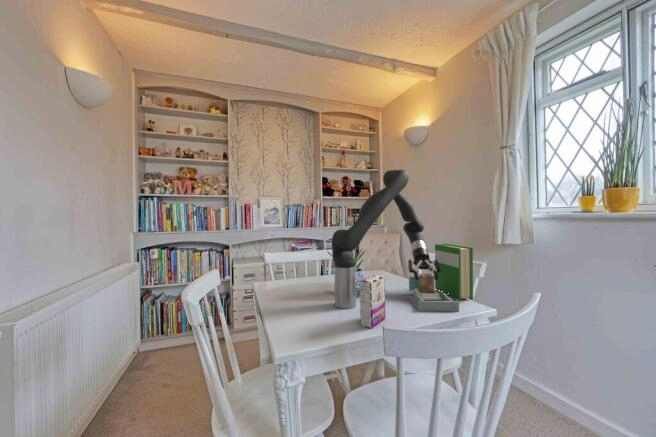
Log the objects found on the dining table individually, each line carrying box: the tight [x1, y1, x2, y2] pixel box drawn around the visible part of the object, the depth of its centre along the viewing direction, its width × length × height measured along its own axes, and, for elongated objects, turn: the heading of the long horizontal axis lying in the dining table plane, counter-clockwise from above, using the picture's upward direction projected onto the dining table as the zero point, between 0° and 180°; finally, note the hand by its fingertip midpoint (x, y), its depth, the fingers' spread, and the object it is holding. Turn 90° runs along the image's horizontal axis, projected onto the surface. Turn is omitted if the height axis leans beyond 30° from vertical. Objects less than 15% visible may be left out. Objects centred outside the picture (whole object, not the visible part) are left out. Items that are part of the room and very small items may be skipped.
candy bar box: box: [359, 274, 386, 329], centre depth 97 cm, size 11×5×16 cm, turn 143°
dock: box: [408, 291, 460, 312], centre depth 115 cm, size 16×17×4 cm
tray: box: [408, 276, 442, 300], centre depth 124 cm, size 12×15×7 cm
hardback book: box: [434, 243, 474, 301], centre depth 129 cm, size 18×7×24 cm, turn 12°
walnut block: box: [418, 273, 435, 293], centre depth 122 cm, size 5×5×9 cm
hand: (427, 279), depth 122 cm, fingers open, 8 cm apart
